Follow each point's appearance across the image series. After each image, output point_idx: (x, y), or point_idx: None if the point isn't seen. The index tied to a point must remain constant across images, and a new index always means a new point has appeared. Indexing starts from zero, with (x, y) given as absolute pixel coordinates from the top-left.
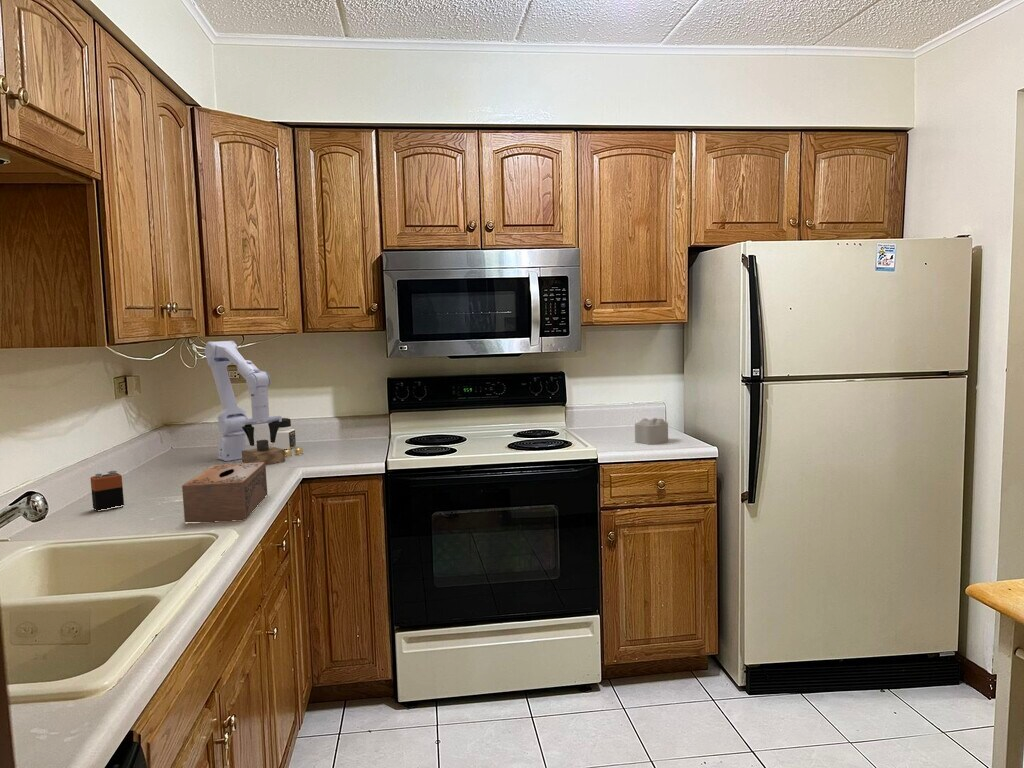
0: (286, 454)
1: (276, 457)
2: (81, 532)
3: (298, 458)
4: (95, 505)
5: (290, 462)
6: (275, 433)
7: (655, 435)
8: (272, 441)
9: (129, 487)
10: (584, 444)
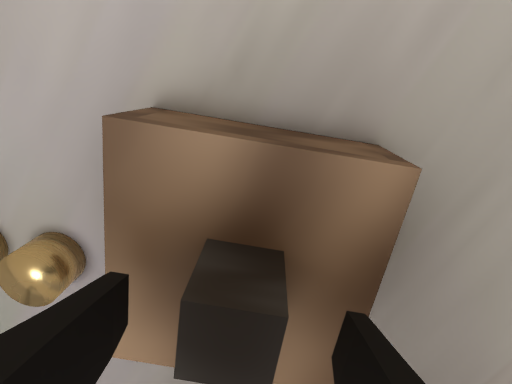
0: (59, 248)
1: (207, 123)
2: None
3: (31, 127)
4: None
5: (139, 41)
6: (15, 340)
7: None
8: (122, 297)
9: None
10: None
